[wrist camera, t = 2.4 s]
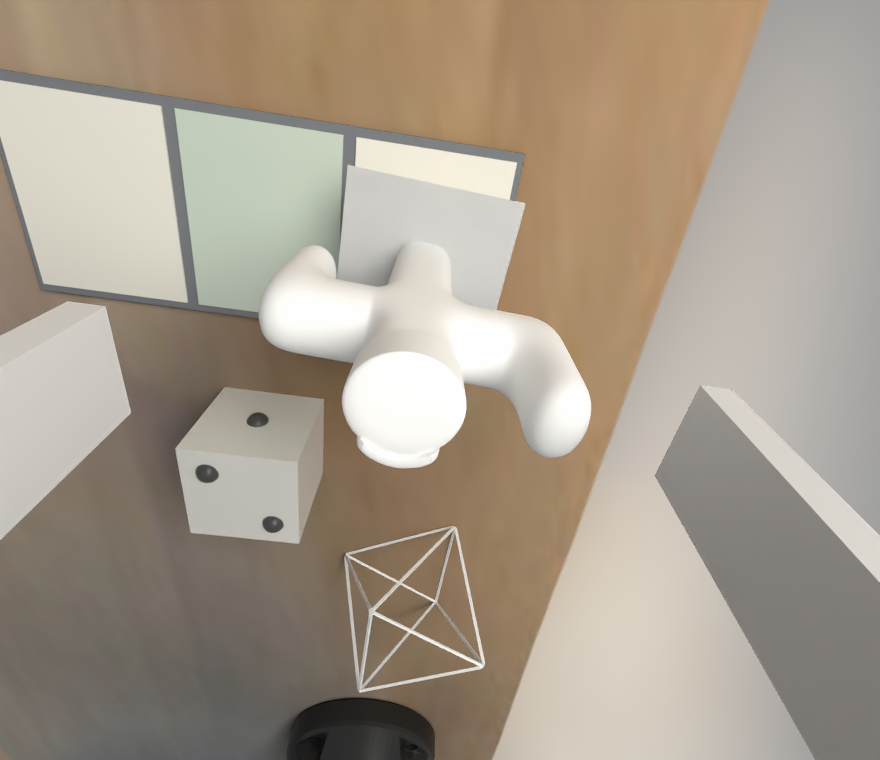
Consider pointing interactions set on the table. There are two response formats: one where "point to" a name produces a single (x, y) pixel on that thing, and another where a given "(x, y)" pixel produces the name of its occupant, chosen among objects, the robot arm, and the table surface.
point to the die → (253, 465)
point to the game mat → (195, 189)
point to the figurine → (424, 320)
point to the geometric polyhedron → (372, 612)
